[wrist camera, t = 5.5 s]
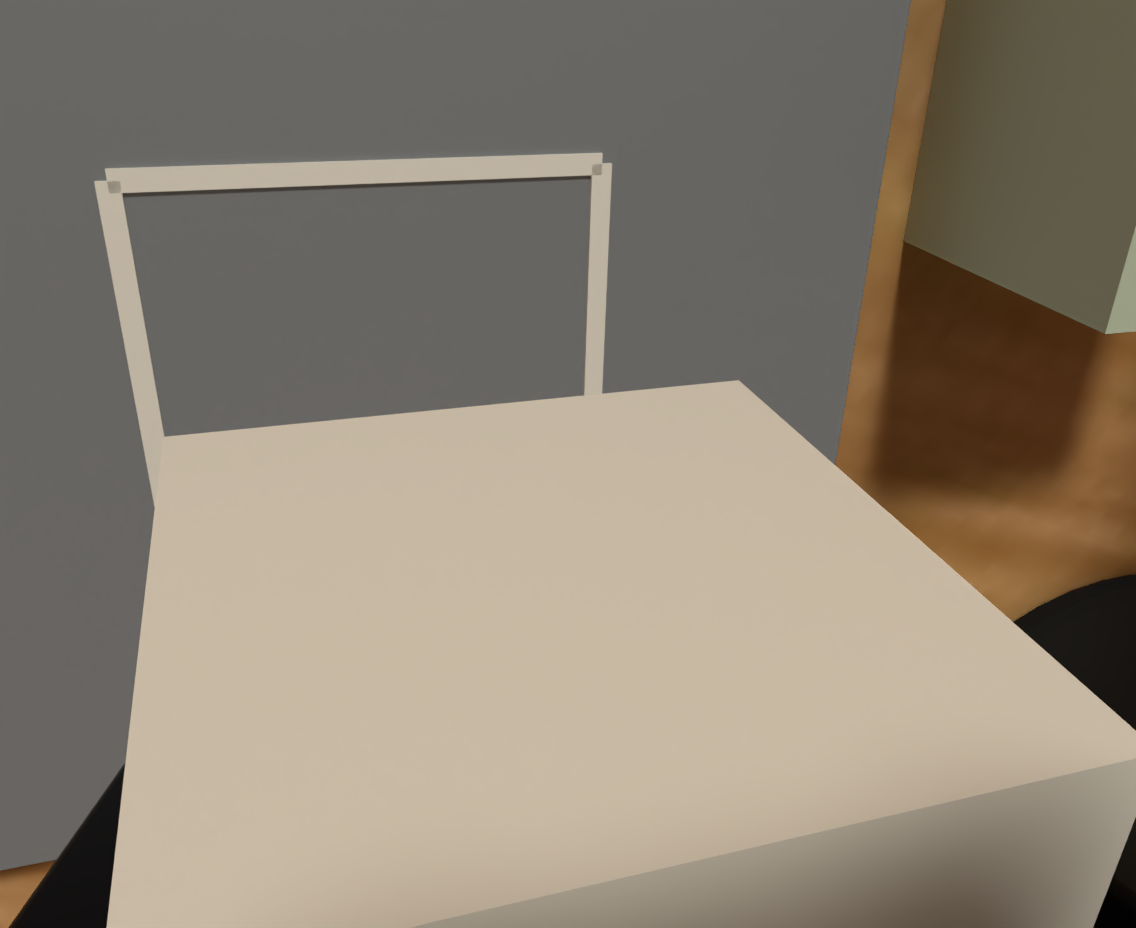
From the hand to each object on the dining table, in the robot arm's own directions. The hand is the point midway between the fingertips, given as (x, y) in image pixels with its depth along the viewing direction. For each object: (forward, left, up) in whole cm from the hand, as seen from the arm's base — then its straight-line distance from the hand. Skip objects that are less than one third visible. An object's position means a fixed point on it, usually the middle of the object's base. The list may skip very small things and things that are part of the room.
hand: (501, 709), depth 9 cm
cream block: (0, 0, -1) cm, 1 cm away
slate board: (0, 0, -9) cm, 9 cm away
